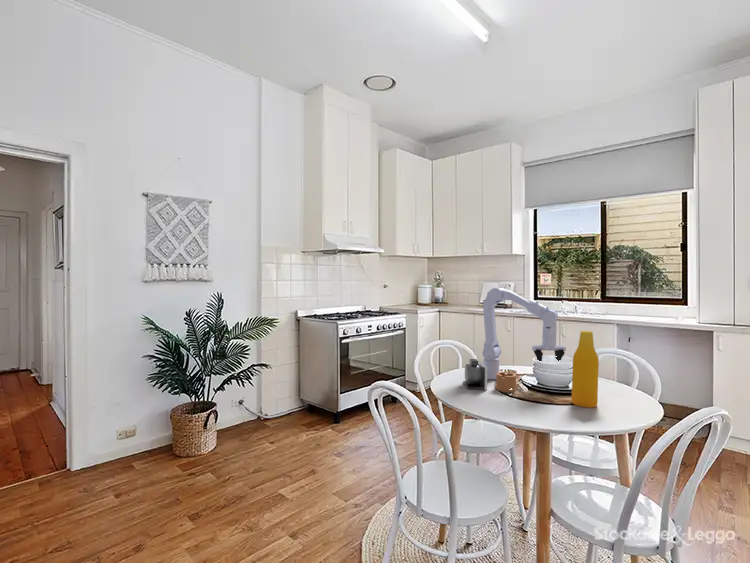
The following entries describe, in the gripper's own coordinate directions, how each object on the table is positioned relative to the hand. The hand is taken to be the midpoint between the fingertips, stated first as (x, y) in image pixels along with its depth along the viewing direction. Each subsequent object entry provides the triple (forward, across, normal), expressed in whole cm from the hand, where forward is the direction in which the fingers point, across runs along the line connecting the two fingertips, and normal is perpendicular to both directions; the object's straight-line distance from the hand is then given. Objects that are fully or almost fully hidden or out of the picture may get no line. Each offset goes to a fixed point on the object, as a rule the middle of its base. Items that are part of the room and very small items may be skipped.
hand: (548, 366), depth 188 cm
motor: (+9, -33, 0) cm, 35 cm away
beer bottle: (+10, +5, -23) cm, 25 cm away
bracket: (+10, -18, 0) cm, 21 cm away
